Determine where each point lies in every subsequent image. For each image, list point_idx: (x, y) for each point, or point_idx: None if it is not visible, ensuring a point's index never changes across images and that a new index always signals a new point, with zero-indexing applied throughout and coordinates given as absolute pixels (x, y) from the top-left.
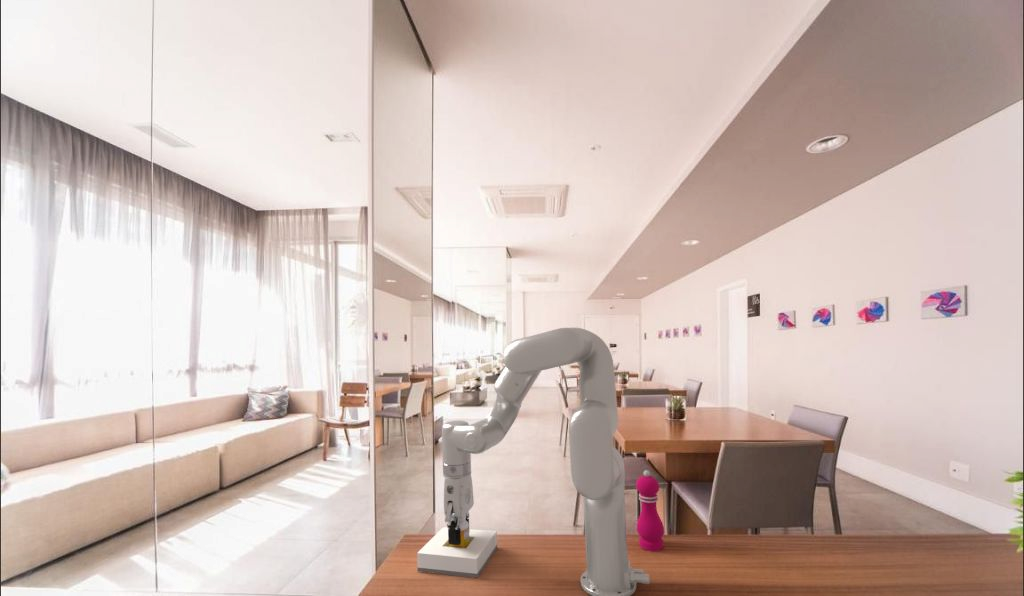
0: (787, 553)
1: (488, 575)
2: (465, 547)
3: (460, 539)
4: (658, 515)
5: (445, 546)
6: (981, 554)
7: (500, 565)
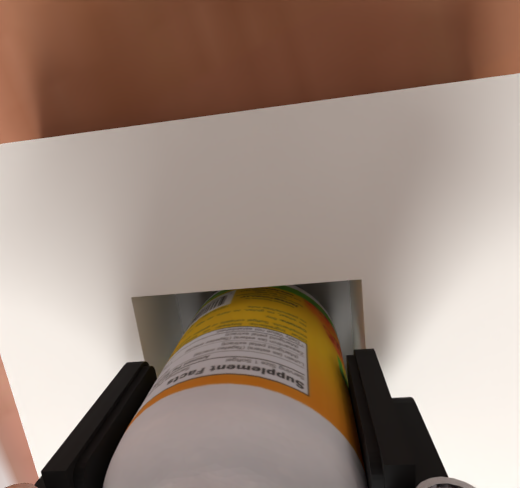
0: None
1: (417, 29)
2: (294, 303)
3: (362, 370)
4: None
5: None
6: None
7: (255, 7)
